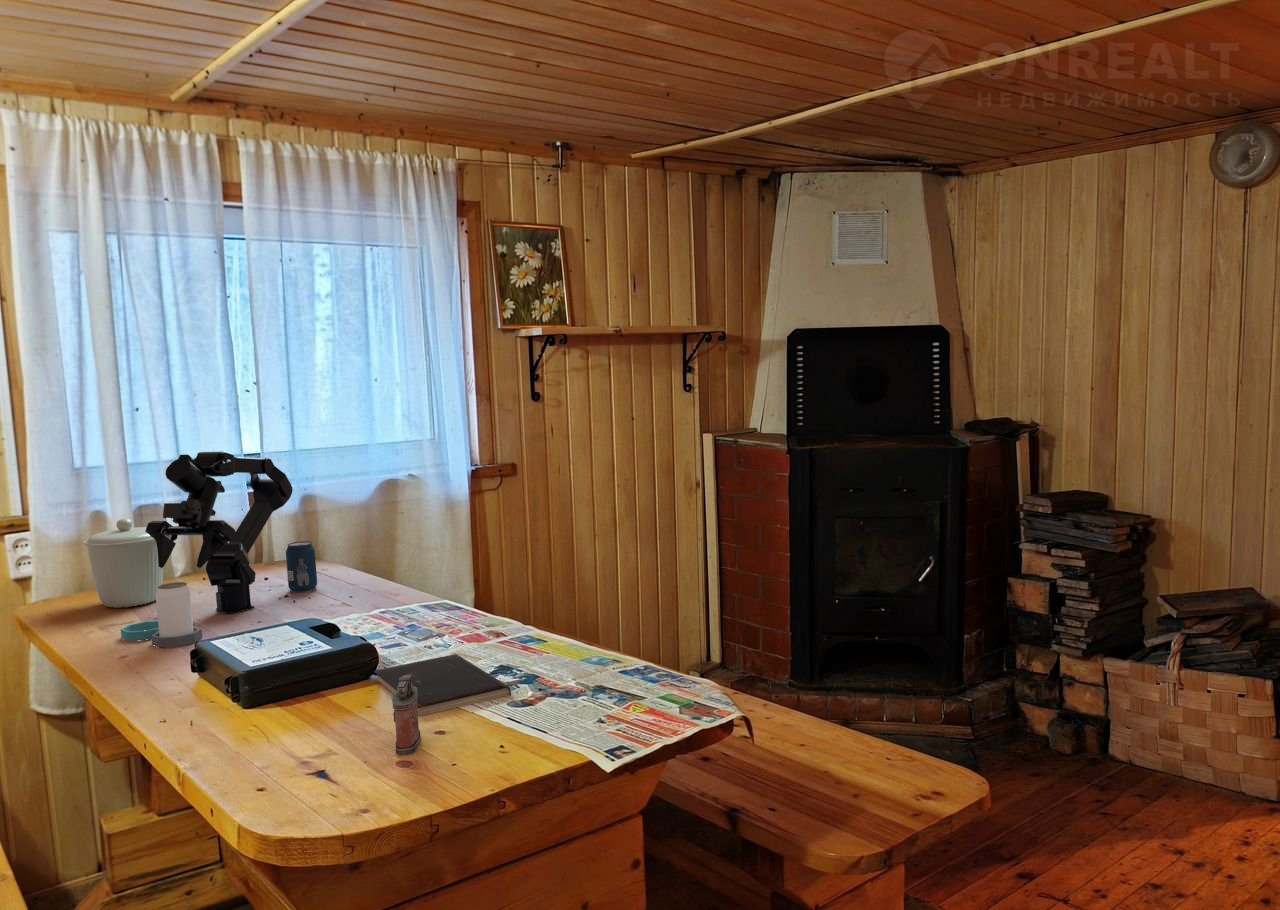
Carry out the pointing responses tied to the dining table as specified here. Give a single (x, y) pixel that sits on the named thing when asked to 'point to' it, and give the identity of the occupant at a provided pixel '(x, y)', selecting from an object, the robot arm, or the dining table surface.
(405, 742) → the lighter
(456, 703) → the hardcover book
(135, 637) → the socket
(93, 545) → the canister
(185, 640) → the socket
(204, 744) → the dining table surface
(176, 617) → the can
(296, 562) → the soda can
